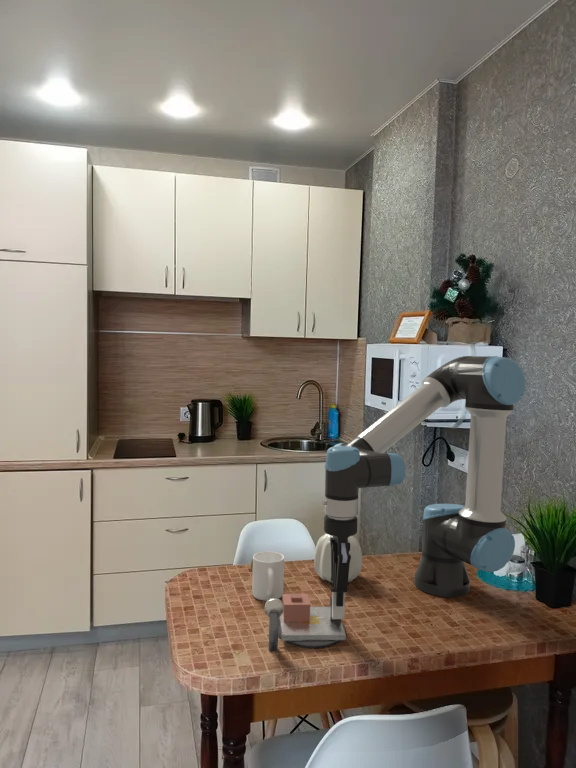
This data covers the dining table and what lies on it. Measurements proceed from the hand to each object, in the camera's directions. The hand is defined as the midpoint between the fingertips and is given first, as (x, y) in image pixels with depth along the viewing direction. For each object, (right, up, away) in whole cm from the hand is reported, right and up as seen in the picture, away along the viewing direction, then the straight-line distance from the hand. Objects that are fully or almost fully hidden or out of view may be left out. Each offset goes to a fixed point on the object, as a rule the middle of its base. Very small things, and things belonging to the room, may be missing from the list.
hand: (337, 617), depth 129 cm
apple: (-18, -2, +31) cm, 36 cm away
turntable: (-6, -3, +2) cm, 7 cm away
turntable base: (-6, -4, +2) cm, 8 cm away
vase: (+3, -3, +34) cm, 34 cm away
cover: (-10, -1, +4) cm, 11 cm away
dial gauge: (-15, -4, -6) cm, 16 cm away
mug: (-17, -3, +20) cm, 26 cm away
